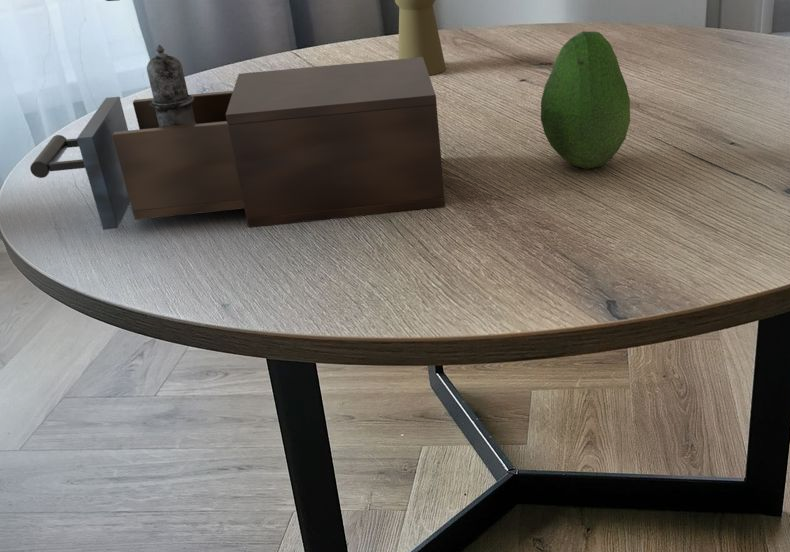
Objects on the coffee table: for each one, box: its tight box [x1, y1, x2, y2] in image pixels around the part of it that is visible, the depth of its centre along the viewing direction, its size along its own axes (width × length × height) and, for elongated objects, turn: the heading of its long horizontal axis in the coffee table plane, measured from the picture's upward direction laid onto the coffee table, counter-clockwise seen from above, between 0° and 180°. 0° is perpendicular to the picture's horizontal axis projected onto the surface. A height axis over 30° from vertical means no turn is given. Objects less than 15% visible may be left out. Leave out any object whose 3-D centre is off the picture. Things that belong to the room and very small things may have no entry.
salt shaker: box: [146, 44, 196, 128], centre depth 81 cm, size 6×6×12 cm
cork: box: [394, 0, 447, 77], centre depth 118 cm, size 6×6×11 cm
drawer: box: [29, 90, 244, 231], centre depth 82 cm, size 20×11×8 cm, turn 99°
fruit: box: [540, 30, 631, 170], centre depth 85 cm, size 8×8×12 cm
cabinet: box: [226, 57, 446, 228], centre depth 84 cm, size 17×13×10 cm
